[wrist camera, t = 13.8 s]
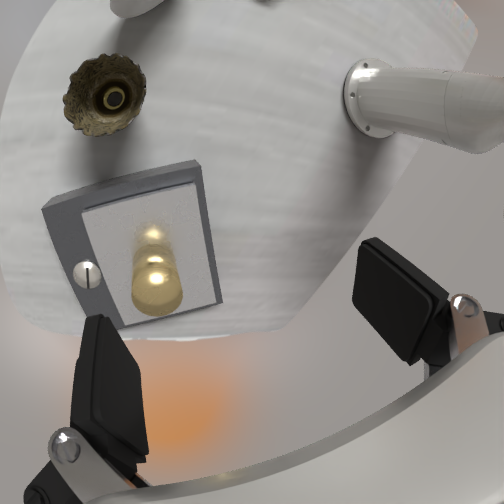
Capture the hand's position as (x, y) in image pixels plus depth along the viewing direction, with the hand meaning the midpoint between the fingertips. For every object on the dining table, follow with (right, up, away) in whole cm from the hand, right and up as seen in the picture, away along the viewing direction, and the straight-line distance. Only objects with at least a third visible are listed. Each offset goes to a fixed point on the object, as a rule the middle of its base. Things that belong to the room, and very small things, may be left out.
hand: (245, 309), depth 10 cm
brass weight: (-10, +1, +19) cm, 22 cm away
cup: (-15, +18, +14) cm, 28 cm away
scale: (-14, +3, +23) cm, 27 cm away
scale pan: (-11, +1, +20) cm, 23 cm away
